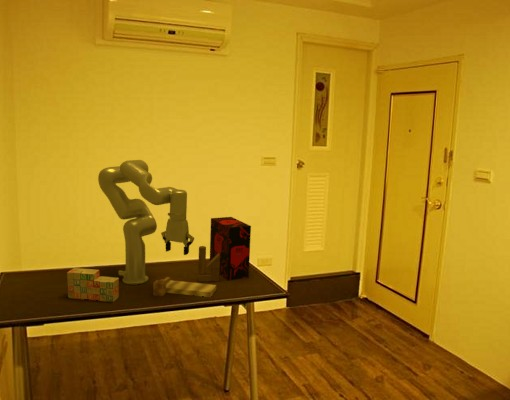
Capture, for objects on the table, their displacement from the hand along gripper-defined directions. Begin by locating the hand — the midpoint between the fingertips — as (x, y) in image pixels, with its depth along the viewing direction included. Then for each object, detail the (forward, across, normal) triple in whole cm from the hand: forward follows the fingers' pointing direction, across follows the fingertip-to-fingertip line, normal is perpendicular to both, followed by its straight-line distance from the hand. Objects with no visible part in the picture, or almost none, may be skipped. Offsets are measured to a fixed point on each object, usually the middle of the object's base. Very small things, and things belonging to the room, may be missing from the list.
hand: (177, 252), depth 207 cm
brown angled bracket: (+20, +5, +22) cm, 30 cm away
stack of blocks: (+20, -29, -23) cm, 42 cm away
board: (+20, +2, +4) cm, 20 cm away
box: (+20, +8, +39) cm, 44 cm away
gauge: (+20, -7, 0) cm, 21 cm away
